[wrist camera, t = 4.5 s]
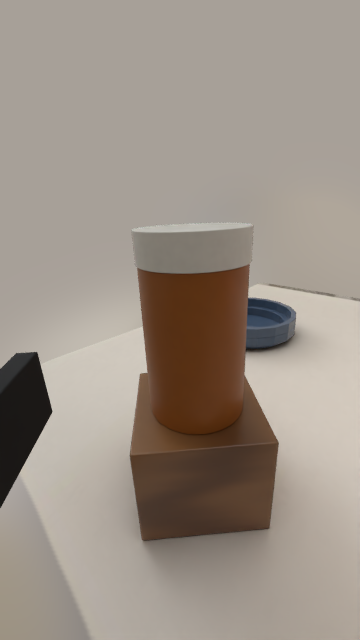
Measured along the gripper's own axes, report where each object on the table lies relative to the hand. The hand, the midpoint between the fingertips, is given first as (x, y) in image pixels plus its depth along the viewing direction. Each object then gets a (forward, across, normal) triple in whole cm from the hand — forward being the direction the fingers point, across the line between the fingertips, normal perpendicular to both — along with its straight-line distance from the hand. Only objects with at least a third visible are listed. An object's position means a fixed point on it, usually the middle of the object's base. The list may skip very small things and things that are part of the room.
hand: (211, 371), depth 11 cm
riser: (+6, 0, -13) cm, 14 cm away
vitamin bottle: (+6, 0, -6) cm, 8 cm away
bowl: (+32, +11, -13) cm, 36 cm away
